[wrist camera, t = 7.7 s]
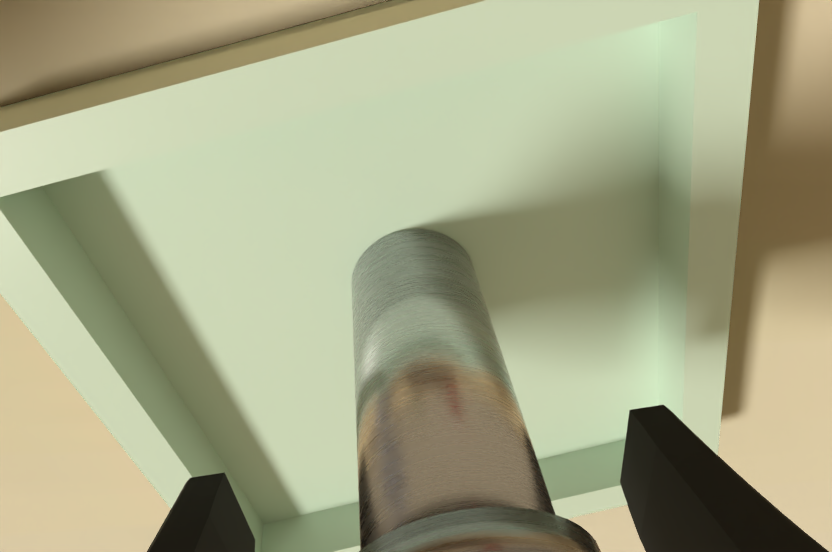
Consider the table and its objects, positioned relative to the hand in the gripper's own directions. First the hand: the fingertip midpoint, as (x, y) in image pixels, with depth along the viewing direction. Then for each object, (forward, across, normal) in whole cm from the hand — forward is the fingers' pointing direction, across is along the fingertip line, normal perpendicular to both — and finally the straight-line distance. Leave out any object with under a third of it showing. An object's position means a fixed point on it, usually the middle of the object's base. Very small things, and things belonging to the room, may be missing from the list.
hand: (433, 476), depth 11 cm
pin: (+4, 0, -1) cm, 4 cm away
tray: (+5, 0, 0) cm, 5 cm away
